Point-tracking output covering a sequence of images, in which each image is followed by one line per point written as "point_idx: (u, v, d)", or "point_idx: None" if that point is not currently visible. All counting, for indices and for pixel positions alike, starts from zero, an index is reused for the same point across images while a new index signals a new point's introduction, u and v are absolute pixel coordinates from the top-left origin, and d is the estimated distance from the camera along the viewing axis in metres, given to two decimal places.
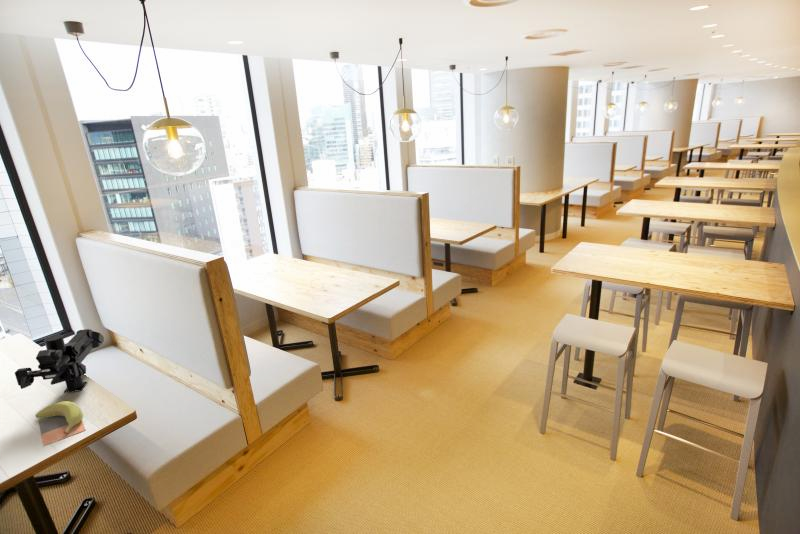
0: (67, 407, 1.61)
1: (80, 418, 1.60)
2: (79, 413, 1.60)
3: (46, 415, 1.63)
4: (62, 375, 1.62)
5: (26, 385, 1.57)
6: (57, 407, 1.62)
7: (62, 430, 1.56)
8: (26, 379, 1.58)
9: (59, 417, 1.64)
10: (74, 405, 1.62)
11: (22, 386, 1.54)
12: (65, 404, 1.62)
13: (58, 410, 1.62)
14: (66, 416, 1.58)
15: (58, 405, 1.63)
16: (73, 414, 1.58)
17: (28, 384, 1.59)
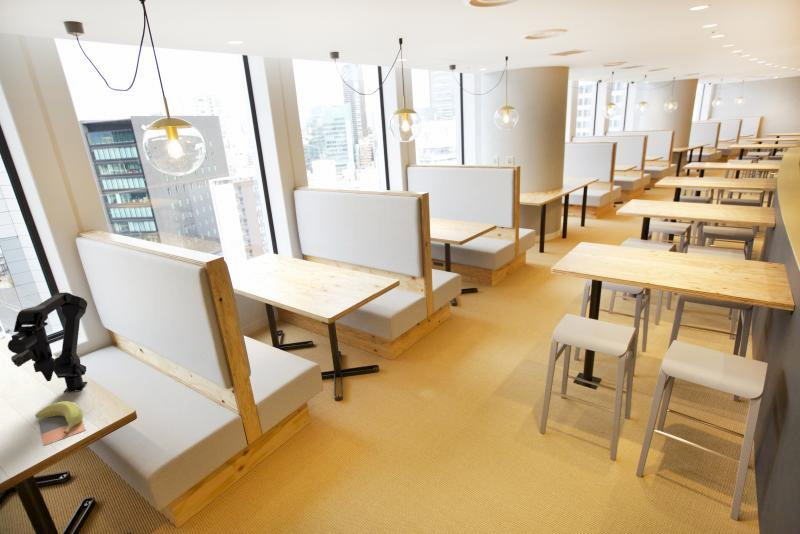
0: (67, 407, 1.61)
1: (80, 418, 1.60)
2: (79, 413, 1.60)
3: (46, 415, 1.63)
4: None
5: None
6: (57, 407, 1.62)
7: (62, 430, 1.56)
8: None
9: (59, 417, 1.64)
10: (74, 405, 1.62)
11: None
12: (65, 404, 1.62)
13: (58, 410, 1.62)
14: (66, 416, 1.58)
15: (58, 405, 1.63)
16: (73, 414, 1.58)
17: None
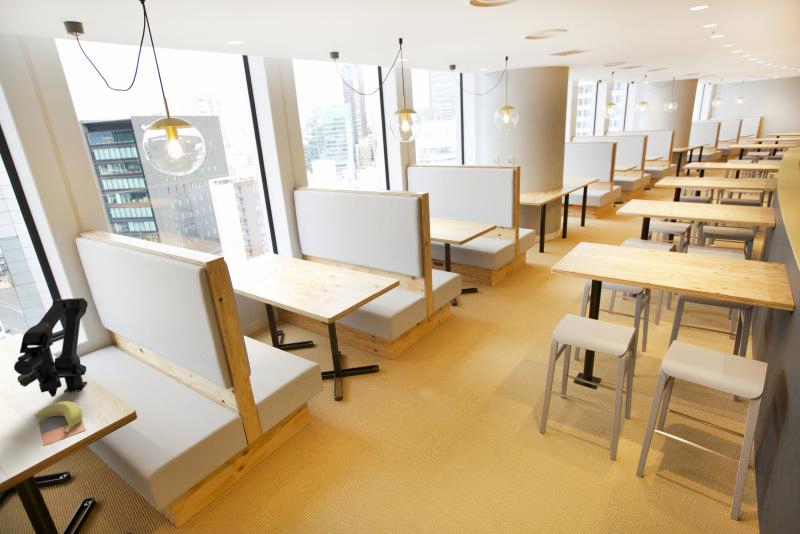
0: (67, 407, 1.61)
1: (80, 418, 1.60)
2: (79, 413, 1.60)
3: (46, 415, 1.63)
4: None
5: None
6: (57, 407, 1.62)
7: (62, 430, 1.56)
8: None
9: (59, 417, 1.64)
10: (74, 405, 1.62)
11: None
12: (65, 404, 1.62)
13: (58, 410, 1.62)
14: (66, 416, 1.58)
15: (58, 405, 1.63)
16: (73, 414, 1.58)
17: None
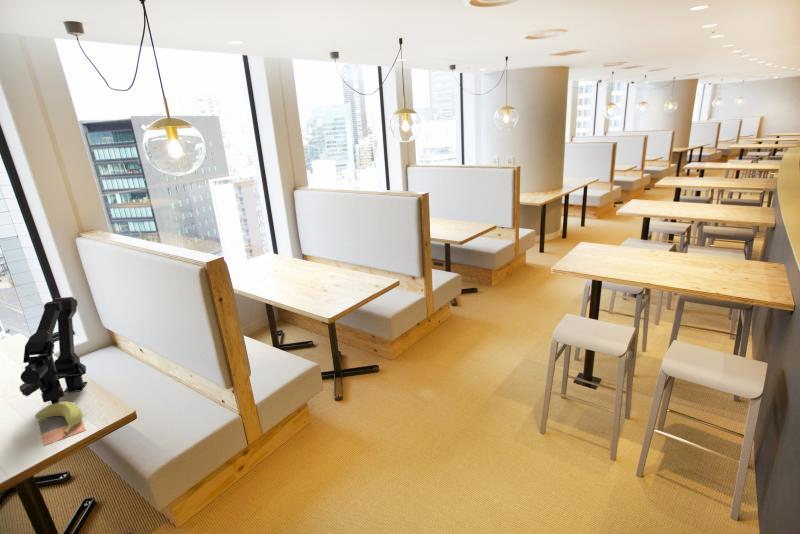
0: (67, 407, 1.61)
1: (80, 418, 1.59)
2: (79, 413, 1.60)
3: (46, 415, 1.63)
4: None
5: None
6: (57, 408, 1.62)
7: (62, 430, 1.56)
8: None
9: (59, 417, 1.64)
10: (74, 405, 1.62)
11: None
12: (65, 404, 1.62)
13: (58, 410, 1.62)
14: (66, 417, 1.58)
15: (58, 405, 1.62)
16: (73, 414, 1.58)
17: None
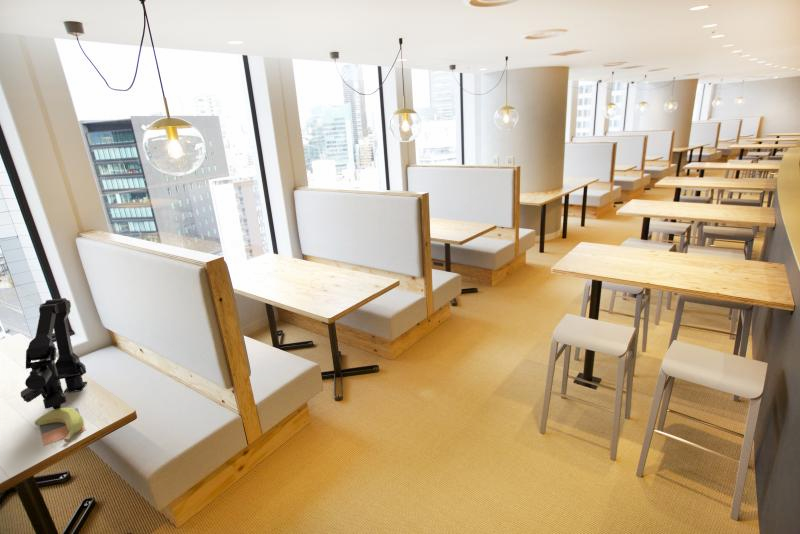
0: (67, 414, 1.57)
1: (81, 425, 1.56)
2: (80, 420, 1.56)
3: (46, 422, 1.59)
4: None
5: None
6: (57, 414, 1.58)
7: (62, 430, 1.56)
8: None
9: None
10: (75, 412, 1.58)
11: None
12: (65, 411, 1.58)
13: (58, 417, 1.58)
14: (67, 423, 1.54)
15: (58, 412, 1.59)
16: (74, 421, 1.55)
17: None
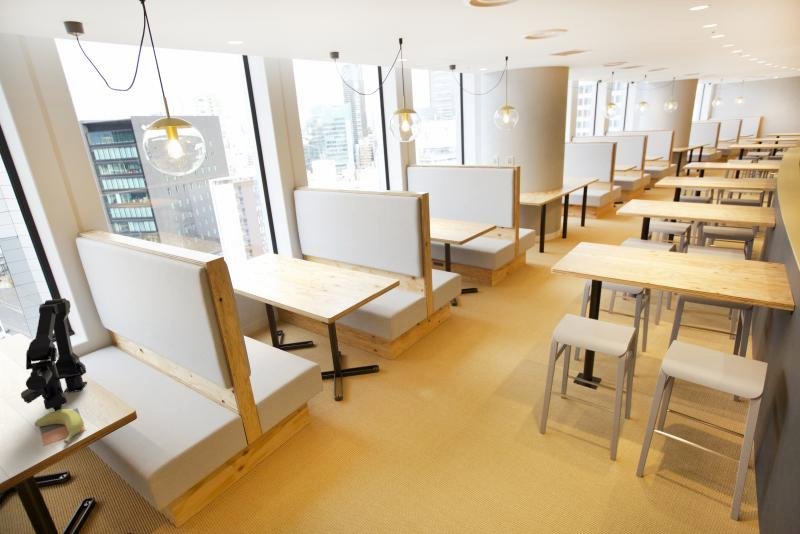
0: (67, 415, 1.56)
1: (81, 426, 1.55)
2: (80, 421, 1.55)
3: (46, 423, 1.58)
4: None
5: None
6: (57, 415, 1.58)
7: (62, 430, 1.56)
8: None
9: None
10: (75, 413, 1.58)
11: None
12: (65, 412, 1.58)
13: (58, 418, 1.57)
14: (67, 425, 1.54)
15: (58, 413, 1.58)
16: (74, 422, 1.54)
17: None
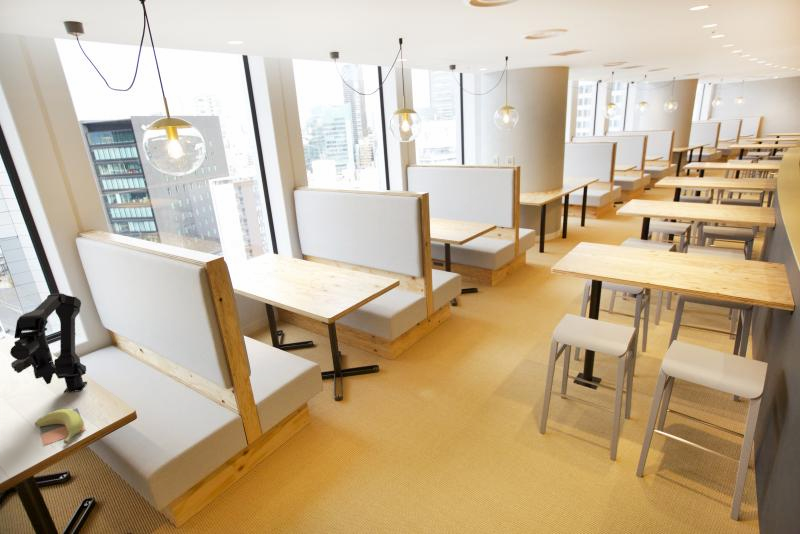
0: (67, 415, 1.56)
1: (81, 426, 1.55)
2: (80, 421, 1.55)
3: (46, 423, 1.58)
4: None
5: (50, 374, 1.65)
6: (57, 415, 1.58)
7: (62, 430, 1.56)
8: None
9: None
10: (75, 413, 1.58)
11: None
12: (65, 412, 1.58)
13: (58, 418, 1.57)
14: (66, 425, 1.54)
15: (58, 413, 1.58)
16: (74, 422, 1.54)
17: None
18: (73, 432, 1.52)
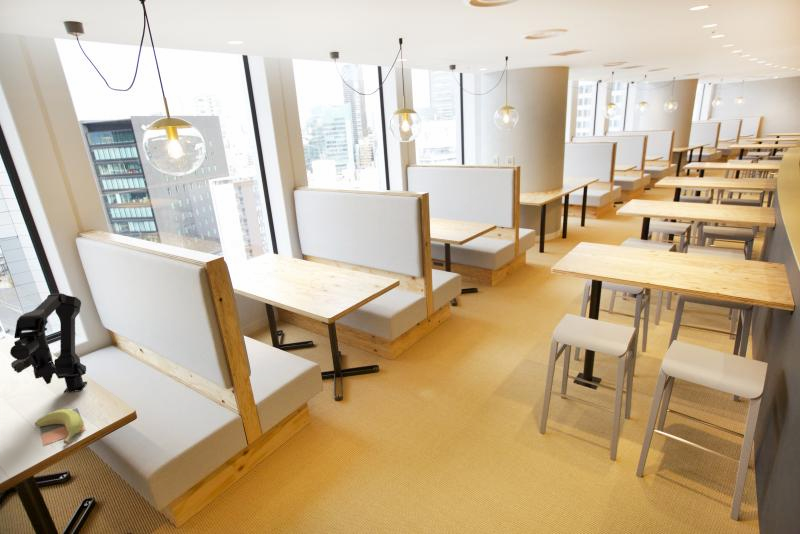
0: (67, 415, 1.56)
1: (80, 426, 1.55)
2: (80, 421, 1.55)
3: (46, 423, 1.58)
4: None
5: (49, 374, 1.65)
6: (57, 415, 1.58)
7: (62, 430, 1.56)
8: None
9: None
10: (74, 413, 1.58)
11: None
12: (65, 412, 1.58)
13: (58, 418, 1.57)
14: (66, 425, 1.54)
15: (58, 413, 1.58)
16: (74, 423, 1.54)
17: None
18: (73, 432, 1.52)
